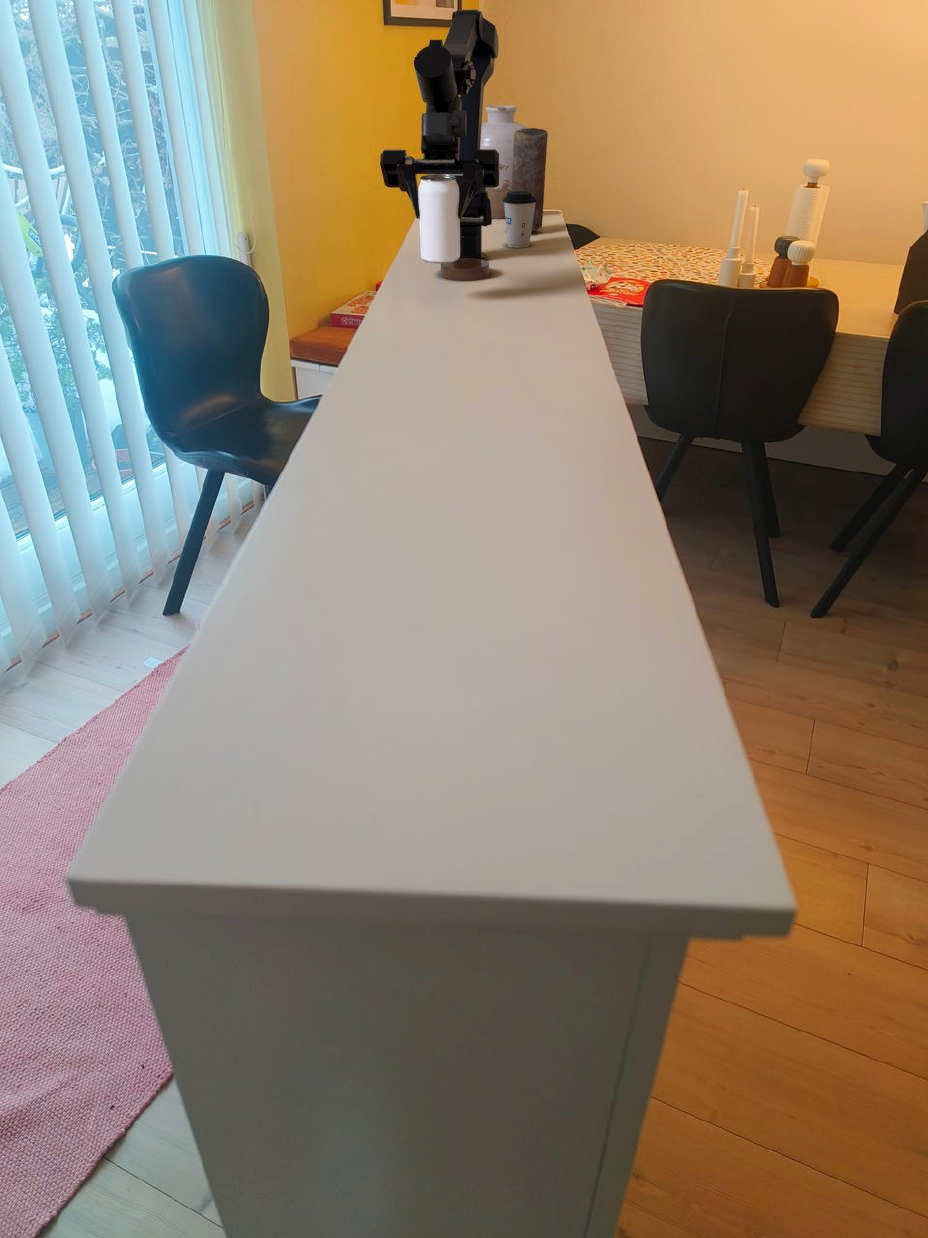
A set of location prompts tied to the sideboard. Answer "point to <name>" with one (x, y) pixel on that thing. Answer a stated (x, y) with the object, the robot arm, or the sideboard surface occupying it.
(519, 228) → the coffee cup
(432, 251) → the can
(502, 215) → the vase
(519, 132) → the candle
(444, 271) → the coaster
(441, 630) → the sideboard surface
